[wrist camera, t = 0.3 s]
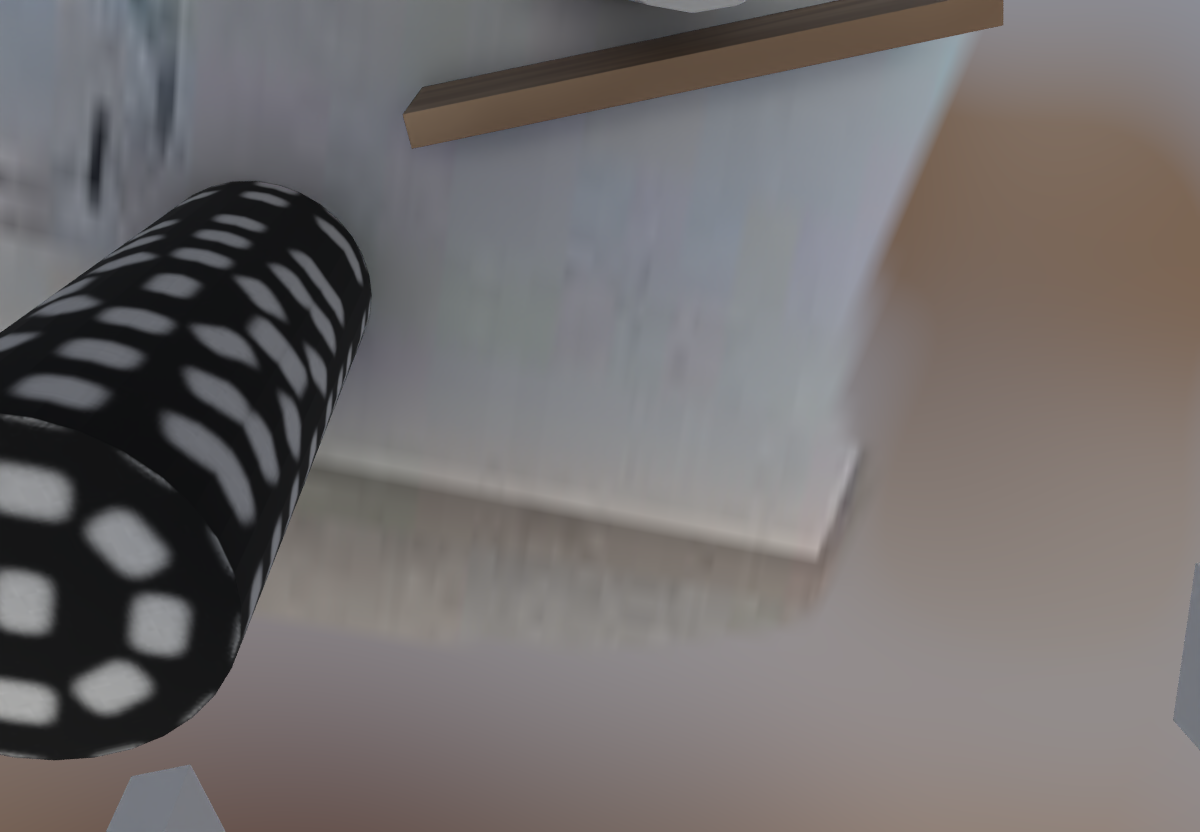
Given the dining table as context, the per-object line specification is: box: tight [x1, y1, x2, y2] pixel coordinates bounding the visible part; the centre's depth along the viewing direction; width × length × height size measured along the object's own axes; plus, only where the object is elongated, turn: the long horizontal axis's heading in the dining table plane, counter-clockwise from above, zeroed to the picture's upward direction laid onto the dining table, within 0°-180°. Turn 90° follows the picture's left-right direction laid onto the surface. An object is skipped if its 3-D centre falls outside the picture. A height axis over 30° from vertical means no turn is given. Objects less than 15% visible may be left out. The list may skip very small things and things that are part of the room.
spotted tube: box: [0, 181, 371, 760], centre depth 27 cm, size 8×8×20 cm
